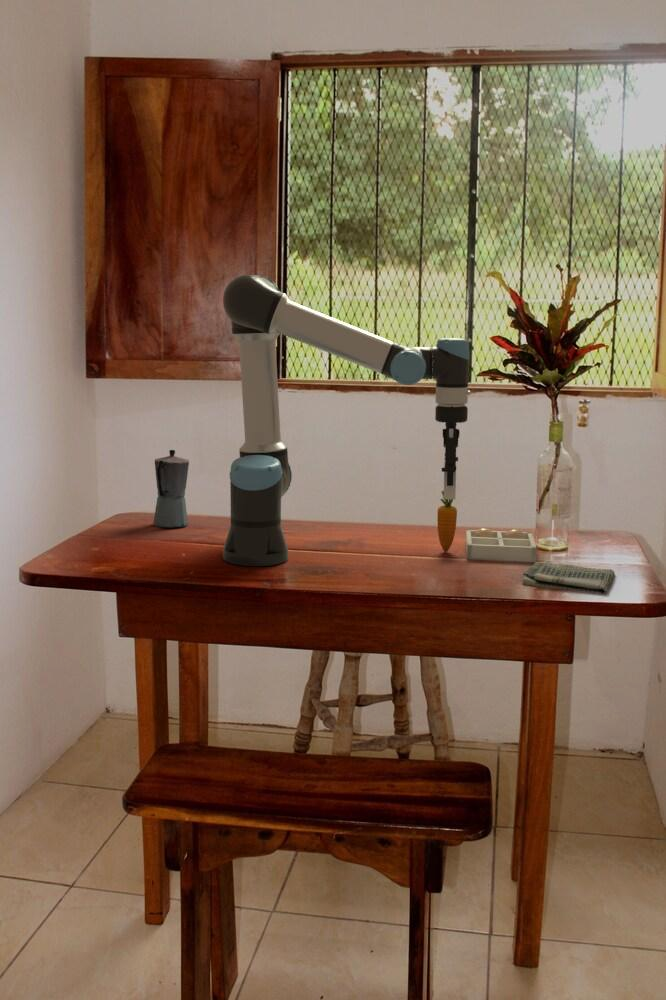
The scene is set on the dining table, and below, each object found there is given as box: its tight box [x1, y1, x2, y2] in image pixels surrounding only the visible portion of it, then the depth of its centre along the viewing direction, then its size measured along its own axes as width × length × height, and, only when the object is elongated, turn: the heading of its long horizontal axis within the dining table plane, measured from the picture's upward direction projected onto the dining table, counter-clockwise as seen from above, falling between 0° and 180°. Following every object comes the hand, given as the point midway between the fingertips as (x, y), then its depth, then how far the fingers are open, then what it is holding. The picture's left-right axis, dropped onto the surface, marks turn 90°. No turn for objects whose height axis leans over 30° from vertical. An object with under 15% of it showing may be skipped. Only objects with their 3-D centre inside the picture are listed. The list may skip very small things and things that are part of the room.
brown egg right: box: [505, 528, 524, 539], centre depth 258 cm, size 5×5×5 cm
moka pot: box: [153, 449, 190, 528], centre depth 275 cm, size 10×15×20 cm, turn 169°
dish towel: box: [521, 560, 616, 596], centre depth 232 cm, size 19×18×3 cm
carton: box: [465, 529, 537, 563], centre depth 255 cm, size 16×16×4 cm
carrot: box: [437, 490, 458, 553], centre depth 253 cm, size 5×5×15 cm
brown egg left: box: [475, 527, 493, 538], centre depth 259 cm, size 5×5×5 cm
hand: (449, 493), depth 252 cm, fingers open, 13 cm apart
